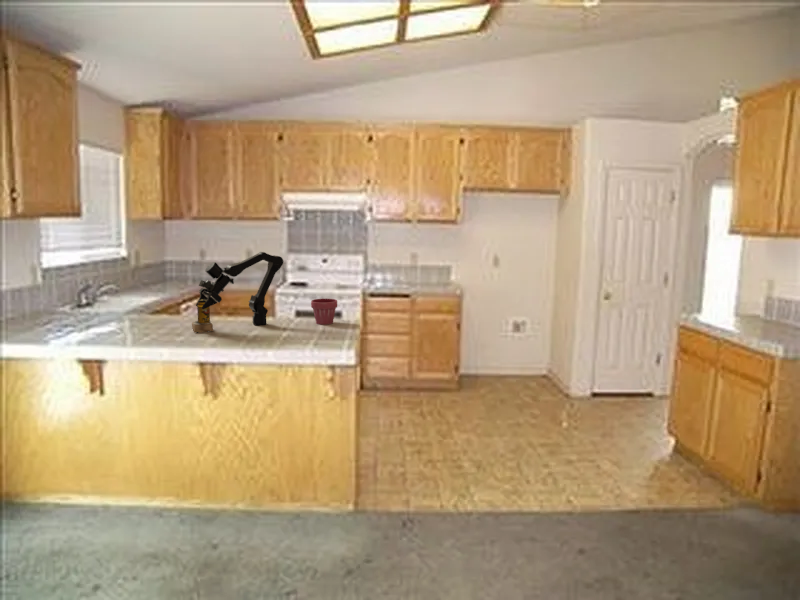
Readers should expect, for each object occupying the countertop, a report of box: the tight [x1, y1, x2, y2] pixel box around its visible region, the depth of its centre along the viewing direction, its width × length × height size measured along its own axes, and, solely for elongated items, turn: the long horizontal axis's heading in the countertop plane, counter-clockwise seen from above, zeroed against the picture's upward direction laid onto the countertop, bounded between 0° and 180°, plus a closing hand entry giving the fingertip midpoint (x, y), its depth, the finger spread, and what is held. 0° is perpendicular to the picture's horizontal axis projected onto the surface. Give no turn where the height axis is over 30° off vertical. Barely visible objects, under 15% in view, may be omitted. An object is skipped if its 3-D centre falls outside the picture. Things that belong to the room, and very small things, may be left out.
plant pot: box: [310, 298, 338, 326], centre depth 357 cm, size 14×14×13 cm
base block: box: [191, 321, 214, 333], centre depth 334 cm, size 9×9×4 cm
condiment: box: [192, 299, 212, 324], centre depth 333 cm, size 7×8×12 cm
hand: (199, 307), depth 332 cm, fingers open, 9 cm apart
